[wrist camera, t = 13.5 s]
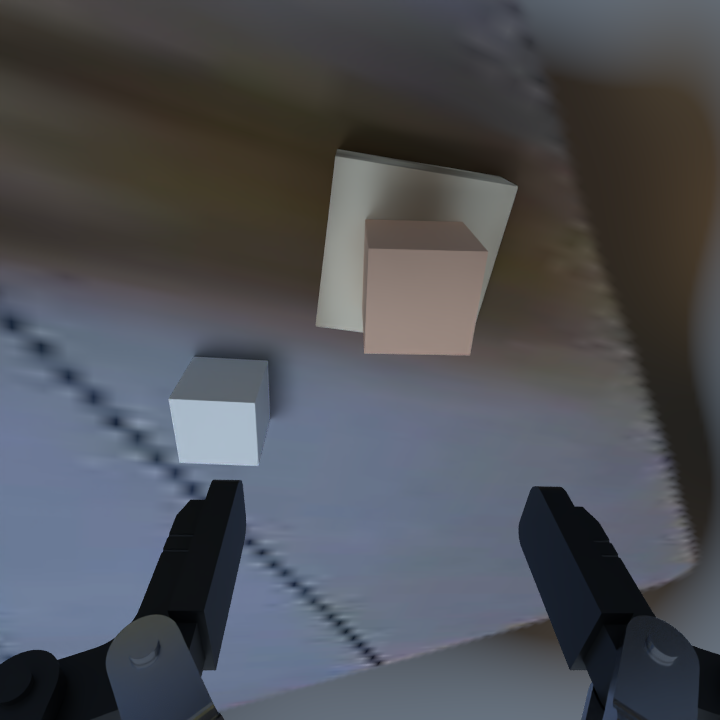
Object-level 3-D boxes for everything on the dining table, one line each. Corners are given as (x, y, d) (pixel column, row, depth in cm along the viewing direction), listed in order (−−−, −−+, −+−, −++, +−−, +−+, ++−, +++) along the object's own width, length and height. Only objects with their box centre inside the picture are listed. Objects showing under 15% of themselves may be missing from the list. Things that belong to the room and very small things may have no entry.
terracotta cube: (361, 309, 28) (364, 353, 23) (365, 219, 25) (368, 248, 21) (449, 311, 28) (469, 355, 24) (462, 221, 26) (488, 251, 21)
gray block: (319, 301, 32) (315, 326, 29) (337, 148, 27) (335, 156, 24) (456, 320, 33) (468, 346, 30) (497, 175, 28) (518, 186, 25)
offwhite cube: (201, 414, 37) (179, 462, 32) (194, 356, 34) (168, 399, 29) (270, 418, 37) (258, 465, 32) (268, 360, 34) (254, 403, 29)
